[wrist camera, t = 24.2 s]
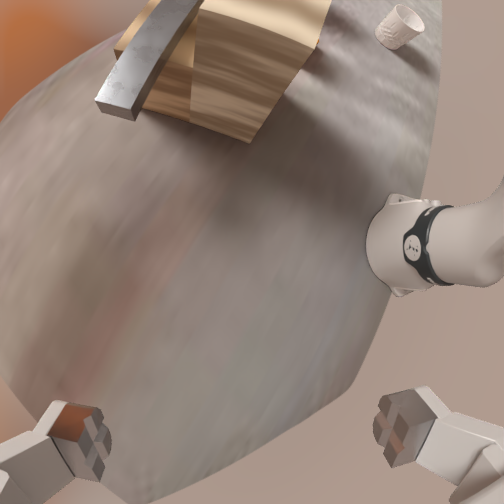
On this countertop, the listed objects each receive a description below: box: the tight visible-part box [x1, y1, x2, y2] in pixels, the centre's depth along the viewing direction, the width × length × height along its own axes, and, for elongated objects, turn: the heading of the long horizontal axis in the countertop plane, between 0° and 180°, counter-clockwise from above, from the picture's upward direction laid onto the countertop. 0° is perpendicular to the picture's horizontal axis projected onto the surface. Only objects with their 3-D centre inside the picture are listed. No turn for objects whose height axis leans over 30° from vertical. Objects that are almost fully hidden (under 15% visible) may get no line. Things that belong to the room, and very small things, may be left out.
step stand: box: [114, 0, 332, 144], centre depth 31 cm, size 12×20×26 cm, turn 71°
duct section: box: [95, 0, 205, 121], centre depth 26 cm, size 20×4×3 cm, turn 161°
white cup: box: [375, 4, 425, 50], centre depth 47 cm, size 8×8×10 cm
